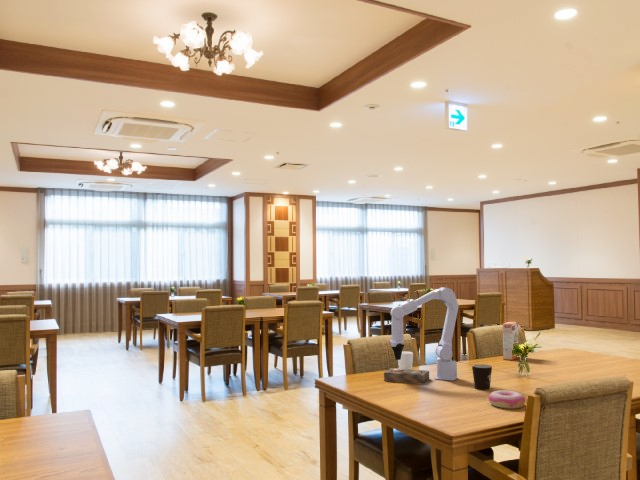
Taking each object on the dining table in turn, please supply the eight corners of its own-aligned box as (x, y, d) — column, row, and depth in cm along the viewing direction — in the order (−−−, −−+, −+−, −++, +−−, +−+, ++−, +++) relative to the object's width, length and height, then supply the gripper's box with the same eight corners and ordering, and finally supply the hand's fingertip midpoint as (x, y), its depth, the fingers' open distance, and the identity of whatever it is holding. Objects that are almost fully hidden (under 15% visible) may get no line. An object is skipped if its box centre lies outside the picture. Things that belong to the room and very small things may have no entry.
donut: (484, 407, 215) (484, 394, 215) (494, 400, 226) (494, 387, 226) (520, 412, 208) (519, 398, 208) (528, 404, 219) (528, 391, 219)
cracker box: (513, 360, 315) (512, 323, 316) (502, 359, 318) (501, 323, 319) (519, 357, 327) (518, 321, 328) (509, 356, 330) (508, 321, 331)
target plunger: (404, 376, 269) (404, 368, 269) (401, 377, 264) (401, 370, 265) (394, 375, 271) (394, 368, 271) (391, 377, 266) (391, 369, 267)
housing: (429, 379, 267) (429, 370, 267) (423, 384, 256) (423, 375, 257) (391, 376, 275) (391, 368, 275) (384, 380, 264) (384, 372, 264)
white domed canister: (422, 379, 265) (422, 371, 265) (419, 381, 261) (419, 373, 261) (412, 378, 267) (412, 371, 267) (409, 380, 263) (409, 372, 263)
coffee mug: (482, 391, 240) (481, 368, 241) (468, 387, 248) (467, 365, 248) (501, 388, 246) (501, 366, 246) (487, 384, 253) (487, 363, 254)
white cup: (396, 372, 283) (395, 353, 284) (399, 370, 291) (399, 350, 291) (411, 373, 280) (411, 354, 281) (414, 371, 288) (414, 351, 288)
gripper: (393, 329, 277) (394, 356, 276) (385, 332, 264) (385, 361, 263) (407, 330, 274) (408, 357, 274) (399, 333, 261) (399, 362, 260)
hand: (398, 359), depth 268 cm, fingers closed
